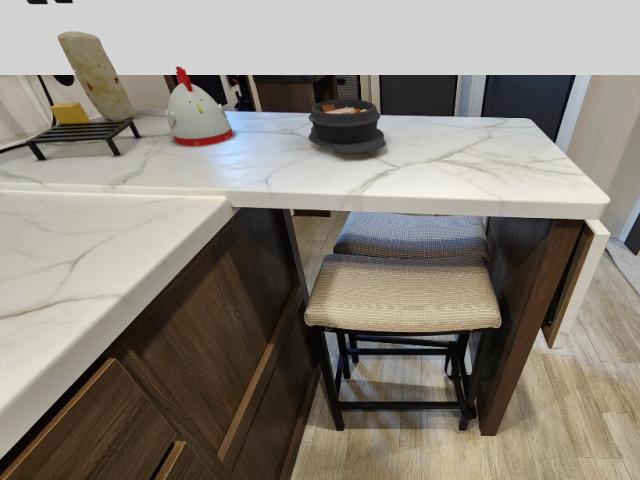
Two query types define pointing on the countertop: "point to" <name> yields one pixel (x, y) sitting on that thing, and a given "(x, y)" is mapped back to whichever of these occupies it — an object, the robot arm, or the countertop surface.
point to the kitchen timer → (195, 115)
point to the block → (69, 113)
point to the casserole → (346, 126)
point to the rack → (82, 134)
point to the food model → (96, 74)
